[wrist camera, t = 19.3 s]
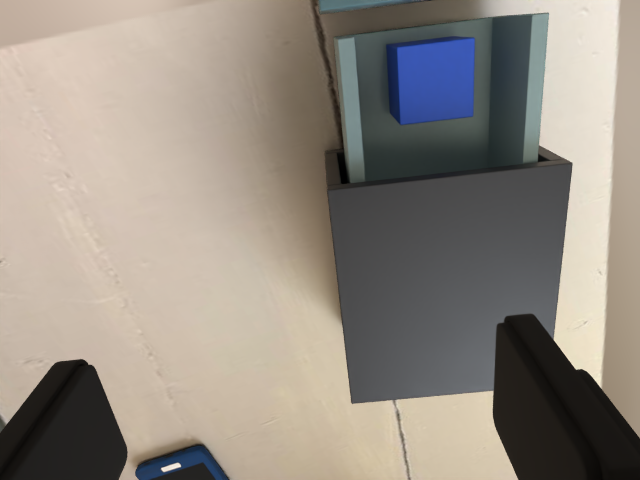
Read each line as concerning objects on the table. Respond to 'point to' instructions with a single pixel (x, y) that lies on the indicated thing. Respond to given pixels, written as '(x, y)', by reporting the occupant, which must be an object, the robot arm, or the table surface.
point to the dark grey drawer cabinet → (443, 270)
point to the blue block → (431, 79)
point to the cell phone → (182, 466)
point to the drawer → (446, 135)
